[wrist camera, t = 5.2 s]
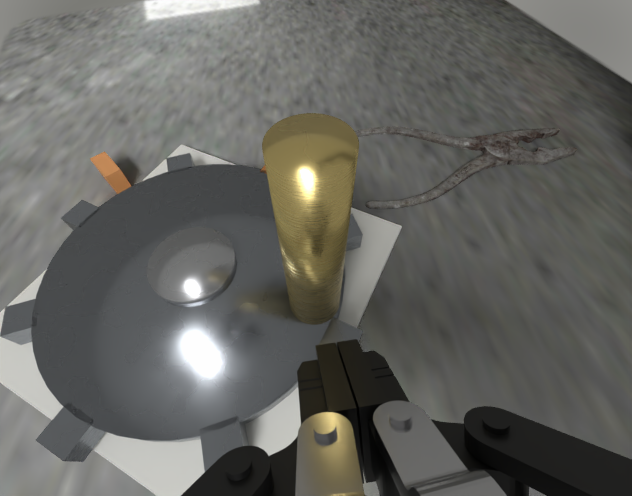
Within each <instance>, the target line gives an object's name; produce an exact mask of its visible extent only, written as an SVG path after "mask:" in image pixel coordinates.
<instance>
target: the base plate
mask: <svg viewBox="0 0 632 496" xmlns="http://www.w3.org/2000/svg"><path fill="white" fill-rule="evenodd" d="M187 153H190V154H191V156H192V159H193V161H194V164H195V166H198V165H209V164H231V165H235V164H233V163H230V162H227V161H224V160H222V159H219V158H216V157H214V156H211V155H208V154H206V153H203V152H200V151H197V150H195V149H192V148H189V147H187V146H184V145H180V146H179V147H178V148H177V149H176V150H175V151H174V152H173V153H172V154H171V155H170V156H169V157H174V156H178V155H183V154H187ZM169 157H167V158H169ZM90 159H91V161H92V162H93V163H94V165H95V166H96V168H97V169H98V170H99V172H100V173H101V174H102V176H103V177H104V178H105V179H106V181H107V182H108V183H109V184H110V185H111V187H112V188H113V189H114V190H115V191H116V193H117V194H119V193H121V192H122V191H124V190H126V189H128V188H129V187H131V185H130V183H129V182H128V180H127V179H126V177H125V176H124V174H123V173H122V171H121V170H120V168H119V167H118V166H117V165H116V164H115V163H114V162H113V161H112V159H111V158H110V157H109V156H108V155H107V154H106V153H105V152H103V153H101V154H99V155H96V156H94V157H92V158H90ZM166 172H168V169H167V160H166V159H165V160H164V161H163V162H162V163H161V164H160V165H159V166H158V167H157V168H156V169H154V170H153V171H152V172H151V173H150V174H149V175H148V176H147V177H146V178H145V179H144V180H146V179H149V178H151V177H154V176H157V175H160V174H162V173H166ZM144 180H143V181H144ZM351 214H353V216H354V218H355V220H356V222H357V224H358V226H359V228H360V230H361V232H362V234H363V236H362V241H361V246H360V248H356V249H353V250H349V251H346V255H345V263H344V264H345V283H344V293H343V301H342V307H341V311H340V315H339V320H341V321H343V322H345V323H347V324H349V325H351V326H354V327H356V328H357V327H358V325H359V323H360V320H361V318H362V316H363V314H364V311H365V309H366V307H367V305H368V303H369V300H370V298H371V296H372V294H373V291H374V289H375V287H376V285H377V282H378V280H379V278H380V276H381V274H382V271H383V269H384V267H385V265H386V262H387V260H388V258H389V256H390V254H391V251H392V249H393V247H394V245H395V242H396V240H397V238H398V236H399V233H400V231H401V228H402V226H400V225H397V224H395V223H392V222H389V221H387V220H384V219H381V218H379V217H376V216H373V215H370V214H368V213H365V212H362V211H360V210H357V209H354V208H352V207H351ZM46 270H47V269H46ZM46 270H45V271H44V272H43V273H42V274H41V275H40V276H39V277H38V278H37V279H36V280H35V281H34V282H32V283H31V284H30V285H29V286H28V287H27V288H26V289H25V290H24V291H23V292H22V293H21V294H19V295H18V296H17V297H16V298H15V299H14V300H13V301H12V302H11V303H10V304H9V305H8V306H10V305H14V304H18V303H21V302H25V301H29V300H33V299H36V295H37V292H38V289H39V286H40V284H41V281H42V278H43V276H44V274H45V272H46ZM4 312H5V308H4V309H3V310H2V311H1V312H0V332H1V327H2V322H3V317H4ZM0 383H1V384H3V385H4V386H6V387H7V388H8V389H10V390H11V391H13V392H14V393H15V394H17V395H18V396H19V397H21V398H22V399H24V400H25V401H26V402H28V403H29V404H31V405H32V406H33V407H35V408H36V409H37V410H39V411H40V412H42V413H43V414H44V415H46V416H47V417H49V418H50V419H51V420H53V419H54V417H55V416H56V415H57V414H58V413H59V411H60V410H61V409H62V408H63V407H64V406H62V405H61V404H60V403H59V402H58V400H57V399H56V398H55V397H54V395H53V394H52V393H51V391H50V390H49V389H48V388H47V386H46V384H45V382H44V380H43V378H42V376H41V374H40V372H39V370H38V367H37V363H36V360H35V356H34V353H33V346H32V342H29V343H26V344H23V345H19V344H17V343H14V342H12V341H9V340H7V339H5V338H2V337H0ZM300 426H301V418H300V405H299V391H298V387H297V388H296V389H295V390H294V391H293V392H292V393H291V394H290V395H289V396H288V397H286V398H285V399H284V400H282V401H281V402H280V403H279V404H277V405H276V406H275V407H274V408H272V409H271V410H269V411H268V412H266V413H264V414H263V415H261V416H259V417H258V418H256V419H254V420H253V421H251V422H249V423H247V424H245V427H246V432H247V438H248V443H249V446H257V447H259V448H261V449H263V450H264V451H265V452H266V453H267V454H268V456H270V455H272V454H274V453H276V452H278V451H280V450H282V449H284V448H286V447H287V446H289V445H290V444H291V443H292V442H293V441H294V440H295V439H296V437H297V436H298V430H299V428H300ZM93 450H94V451H96V452H97V453H98V454H100V455H101V456H103V457H104V458H105V459H107V460H108V461H110V462H111V463H112V464H114V465H115V466H116V467H118V468H119V469H121V470H122V471H123V472H125V473H126V474H128V475H129V476H130V477H132V478H133V479H134V480H136V481H137V482H139V483H140V484H141V485H143V486H144V487H146V488H147V489H148V490H150V491H151V492H152V493H154V494H155V495H157V496H181V495H182V494H183V493H184V492H185V491H186V490H187V489H188V488H189V487H190V486H191V485H192V484H193V483H194V482H195V481H196V480H197V479H198V478H199V477H200V476H201V475H202V474H204V473H205V470H204V462H203V454H202V446H201V439H199V440H192V441H185V442H152V441H146V440H139V439H133V438H127V437H121V436H116V435H114V434H111V433H108V432H105V433H104V435H103V436H102V437H101V439H100V440H99V441H98V443H97V444H96V445H95V447H94V448H93Z"/></svg>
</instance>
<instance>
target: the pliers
mask: <svg viewBox="0 0 632 496" xmlns="http://www.w3.org/2000/svg"><path fill="white" fill-rule="evenodd" d="M559 131H560V129H559V128H550V129H526V130H515V131H508V132H501V133H497V134H494V135H485V136H476V137H475V138H461V137H453V136H447V135H442V134H437V133H433V132H428V131H423V130H418V129H412V128H405V127H378V128H369V129H362V130H358V131H354V132H355V133H356V135H357V137H361V136H367V135H376V134H396V135H405V136H410V137H415V138H419V139H423V140H427V141H431V142H435V143H439V144H443V145H447V146H451V147H456V148H463V149H470V150H480V151H483V153H484V154H483V155H481V156H480V157H478V158H476V159H474V160H472V161H470V162H469V163H467V164H465V165H464V166H462V167H461V168H460V169H458V170H457V171H456V172H455V173H454V174H453V175H451V176H450V177H449V178H447V179H446V180H445V181H444V182H442V183H441V184H439V185H438V186H437V187H435V188H433V189H432V190H430V191H428V192H426V193H423V194H421V195H418V196H414V197H411V198H406V199H401V200H393V201H368V202H367V203H366V207H368V208H375V209H390V208H401V207H407V206H413V205H417V204H421V203H425V202H428V201H430V200H433V199H435V198H438V197H439V196H441V195H443V194H445V193H446V192H448V191H449V190H451V189H452V188H454V187H455V186H457V185H458V184H460V183H461V182H462V181H464V180H465V179H467V178H468V177H470V176H472V175H473V174H475V173H477V172H479V171H481V170H483V169H487V168H490V167H495V166H500V165H505V164H547V163H550V162H552V161H555V160H558V159H561V158H564V157H567V156H570V155H573V154H574V153H575V152H576V151H577V148H557V149H552V150H550V149H545V148H543V147H538V148H537V150H536V151H535V152H530V151H527V150H526V149H524V148H523V147H518V145H517V144H518V143H519V141H518V140H523V141H525V142H527V143H530V142H532V141H533V140H534V139H535V138H547V137H550V136H553V135H557V133H558V132H559Z"/></svg>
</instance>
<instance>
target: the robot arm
mask: <svg viewBox="0 0 632 496" xmlns="http://www.w3.org/2000/svg"><path fill="white" fill-rule="evenodd" d="M315 350H316V358H317V360H311V361H304V362H302V363H301V365H300V367H299V369H298V370H297V378H298V391H299V405H300V418H301V426H300V428H299V430H298V436H297V437H296V439H295V440H294V441H293V442H292V443H291V444H290V445H289V446H287V447H286V448H284V449H282V450H280V451H278V452H276V453H274V454H272V455H270V456H268V454H267V453H266V452H265V451H264V450H263V449H261V448H259V447H257V446H241V447H237V448H235V449H232V450H230V451H228V452H227V453H225V454H224V455H222V456H221V457H220V458H219V459H218V460H217V461H216V462H215V463H214V464H213V465H212V466H211V467H210V468H209V469H208V470H207V471H206V472H205V473H204V474H202V475H201V476H200V477H199V478H198V479H197V480H196V481H195V482H194V483H193V484H192V485H191V486H190V487H189V488H188V489H187V490H186V491H185V492H184V493H183V494H182V495H181V496H365V495H364V489H363V484H364V479H363V473H364V476H365V480H366V483H368V482H374V481H376V483H377V486H378V489H379V494H380V496H529V487H531V488H533V489H535V490H537V491H539V492H541V493H543V494H545V495H547V496H632V460H631V459H629V458H626V457H624V456H621V455H619V454H616V453H613V452H611V451H608V450H606V449H603V448H601V447H598V446H596V445H593V444H590V443H588V442H585V441H583V440H580V439H578V438H575V437H572V436H570V435H567V434H565V433H562V432H560V431H557V430H555V429H552V428H549V427H547V426H544V425H542V424H539V423H537V422H534V421H532V420H529V419H526V418H524V417H521V416H519V415H516V414H514V413H511V412H509V411H506V410H503V409H500V408H496V407H487V406H484V407H477V408H474V409H471V410H470V411H468V412H467V413H466V415H465V417H464V424H460V423H447V422H439V421H435V420H432V419H430V418H429V417H428V415H427V414H426V412H425V411H424V410H423V409H422V408H420V407H419V406H417V405H415V404H413V403H410V402H409V400H408V398H407V397H406V395H405V393H404V391H403V390H402V388H401V386H400V384H399V383H398V381H397V379H396V377H395V376H394V374H393V372H392V370H391V369H390V368H389V365H388V363H387V362H386V360H385V358H384V357H383V356H381V355H380V354H378V353H377V352H375V351H369V352H363V351H362V349H361V347H360V345H359V342H358V340H357V339H353V340H347V341H340V342H337V343H335V342H334V343H327V344H320V345H315Z"/></svg>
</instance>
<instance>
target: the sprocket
mask: <svg viewBox="0 0 632 496" xmlns="http://www.w3.org/2000/svg"><path fill="white" fill-rule="evenodd" d="M262 150H263V155H264V161H265V166H264V167H263V168H262V169H258V168H253V167H248V166H242V165H231V164H209V165H198V166H195V164H194V161H193V159H192V156H191V154H190V153H187V154H183V155H178V156H174V157H169V158H166V160H167V169H168V172H166V173H162V174H160V175H157V176H154V177H151V178H149V179H146V180H144V181H142V182H140V183H137V184H135V185H133V186H131V187H129V188H128V189H126V190H124V191H122V192H121V193H119V194H117V195H115V196H114V197H113V198H111V199H110V200H108V201H107V202H105V203H104V204H102V205H101V206H100V207H97V206H94V205H92V204H90V203H88V202H86V201H84V200H81V201H80V202H79V203H78V204H77V205H76V206H74V207H73V208H72V209H71V210H70V211H69V212H67V213H66V214H65V215H64V216H63V217H62V218H61V219H62V220H63V221H65V222H66V223H67V224H68V225H69V226H70V227H71V228H72V229H73V230H74V231H73V232H72V233H71V234H70V235H69V237H68V238H67V239H66V240H65V241H64V243H63V244H62V245H61V247H60V248H59V250H58V251H57V253H56V254H55V256H54V257H53V259H52V260H51V262H50V264H49V266H48V268H47V270H46V272H45V274H44V276H43V278H42V281H41V284H40V286H39V289H38V292H37V295H36V299H33V300H29V301H25V302H21V303H18V304H14V305H10V306H6V307H5V312H4V317H3V322H2V327H1V332H0V337H2V338H5V339H7V340H9V341H12V342H14V343H17V344H19V345H23V344H26V343H29V342H32V346H33V353H34V356H35V360H36V363H37V367H38V370H39V372H40V374H41V376H42V378H43V380H44V382H45V384H46V386H47V388H48V389H49V390H50V391H51V393H52V394H53V395H54V397H55V398H56V399H57V400H58V402H59V403H60V404H61V405H62V406H64V407H63V408H62V409H61V410H60V411H59V413H58V414H57V415H56V416H55V417H54V419H53V420H52V421H51V422H50V423H49V425H48V426H47V427H46V428H45V429H44V431H43V432H42V433H41V434H40V435H39V437H38V438H37V439H36V441H37V442H39V443H40V444H41V445H43V446H44V447H45V448H47V449H48V450H49V451H51V452H52V453H53V454H55V455H56V456H57V457H59V458H60V459H61V460H63V461H79V462H83V461H84V460H85V459H86V457H87V456H88V455H89V453H90V452H91V451H92V449H93V448H94V447H95V445H96V444H97V443H98V441H99V440H100V439H101V437H102V436H103V435H104V433H105V432H108V433H111V434H114V435H116V436H121V437H127V438H133V439H139V440H146V441H152V442H185V441H192V440H199V439H201V446H202V454H203V462H204V470H205V472H206V471H207V470H208V469H209V468H210V467H211V466H212V465H213V464H214V463H215V462H216V461H217V460H218V459H219V458H220V457H221V456H222V455H224V454H225V453H227V452H228V451H230V450H232V449H235V448H237V447H241V446H249V443H248V438H247V432H246V427H245V424H247V423H249V422H251V421H253V420H254V419H256V418H258V417H259V416H261V415H263V414H264V413H266V412H268V411H269V410H271V409H272V408H274V407H275V406H276V405H277V404H279V403H280V402H281V401H282V400H284V399H285V398H286V397H288V396H289V395H290V394H291V393H292V392H293V391H294V390H295V389H296V388H297V387H298V378H297V370H298V369H299V367H300V365H301V363H302V362H304V361H311V360H317V358H316V350H315V345H320V344H327V343H334V342H335V343H337V342H340V341H347V340H353V339H357V340H358V342H360V339H361V336H362V333H363V331H362V330H360V329H358V328H356V327H354V326H351V325H349V324H347V323H345V322H343V321H341V320H339V315H340V311H341V307H342V301H343V293H344V283H345V264H344V263H345V255H346V251H349V250H353V249H356V248H360V246H361V241H362V236H363V234H362V232H361V230H360V228H359V226H358V224H357V222H356V220H355V218H354V216H353V214H351V206H352V198H353V190H354V182H355V174H356V166H357V158H358V150H359V140H358V137H357V135H356V133H355V132H354V130H353V129H352V128H351V127H350V126H349V125H348V124H346V123H345V122H343V121H342V120H340V119H338V118H335V117H332V116H329V115H324V114H316V113H306V114H298V115H294V116H290V117H288V118H285V119H283V120H281V121H279V122H277V123H276V124H275V125H273V126H272V127H271V128H270V129H269V130H268V131H267V133H266V134H265V136H264V139H263V143H262Z"/></svg>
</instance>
